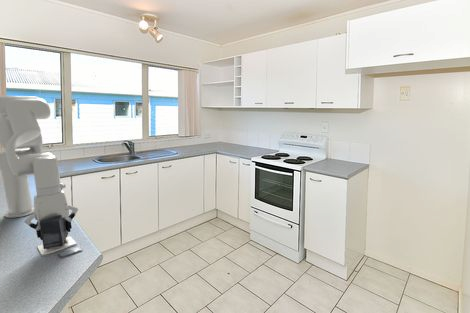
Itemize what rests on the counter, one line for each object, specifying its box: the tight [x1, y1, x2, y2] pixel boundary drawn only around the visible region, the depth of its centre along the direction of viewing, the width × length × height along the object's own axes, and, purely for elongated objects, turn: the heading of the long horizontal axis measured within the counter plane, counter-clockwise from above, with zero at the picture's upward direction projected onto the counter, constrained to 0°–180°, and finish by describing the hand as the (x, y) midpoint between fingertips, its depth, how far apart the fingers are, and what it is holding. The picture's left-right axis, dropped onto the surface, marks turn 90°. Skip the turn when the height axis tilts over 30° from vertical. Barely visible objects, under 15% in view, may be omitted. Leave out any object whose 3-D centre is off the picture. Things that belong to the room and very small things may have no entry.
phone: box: [57, 246, 83, 260], centre depth 99 cm, size 4×7×1 cm, turn 138°
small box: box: [40, 215, 69, 249], centre depth 102 cm, size 11×6×10 cm, turn 22°
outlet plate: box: [37, 236, 77, 256], centre depth 104 cm, size 8×11×1 cm
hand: (55, 234), depth 103 cm, fingers closed on small box, 8 cm apart
